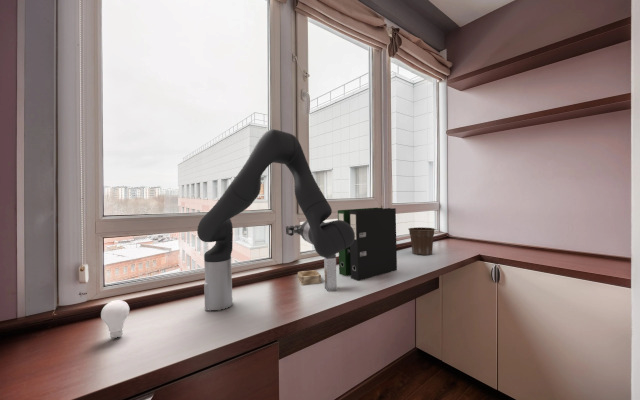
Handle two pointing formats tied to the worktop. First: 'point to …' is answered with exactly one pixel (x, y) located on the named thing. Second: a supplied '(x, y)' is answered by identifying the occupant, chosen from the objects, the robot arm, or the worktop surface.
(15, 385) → the worktop surface
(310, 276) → the holder
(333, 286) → the grey rectangular block
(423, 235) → the plant pot
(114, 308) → the light bulb
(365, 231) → the lever arch files
